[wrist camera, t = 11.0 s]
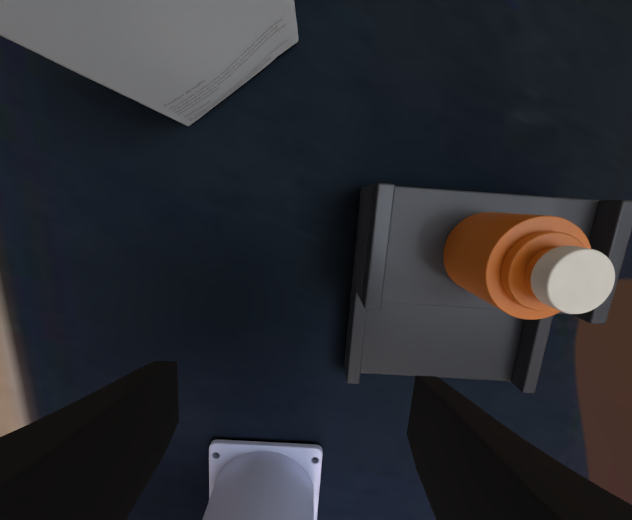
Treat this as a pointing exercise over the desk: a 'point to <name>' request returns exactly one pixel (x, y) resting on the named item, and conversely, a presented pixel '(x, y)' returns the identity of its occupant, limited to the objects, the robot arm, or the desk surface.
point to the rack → (452, 286)
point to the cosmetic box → (157, 45)
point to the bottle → (528, 264)
